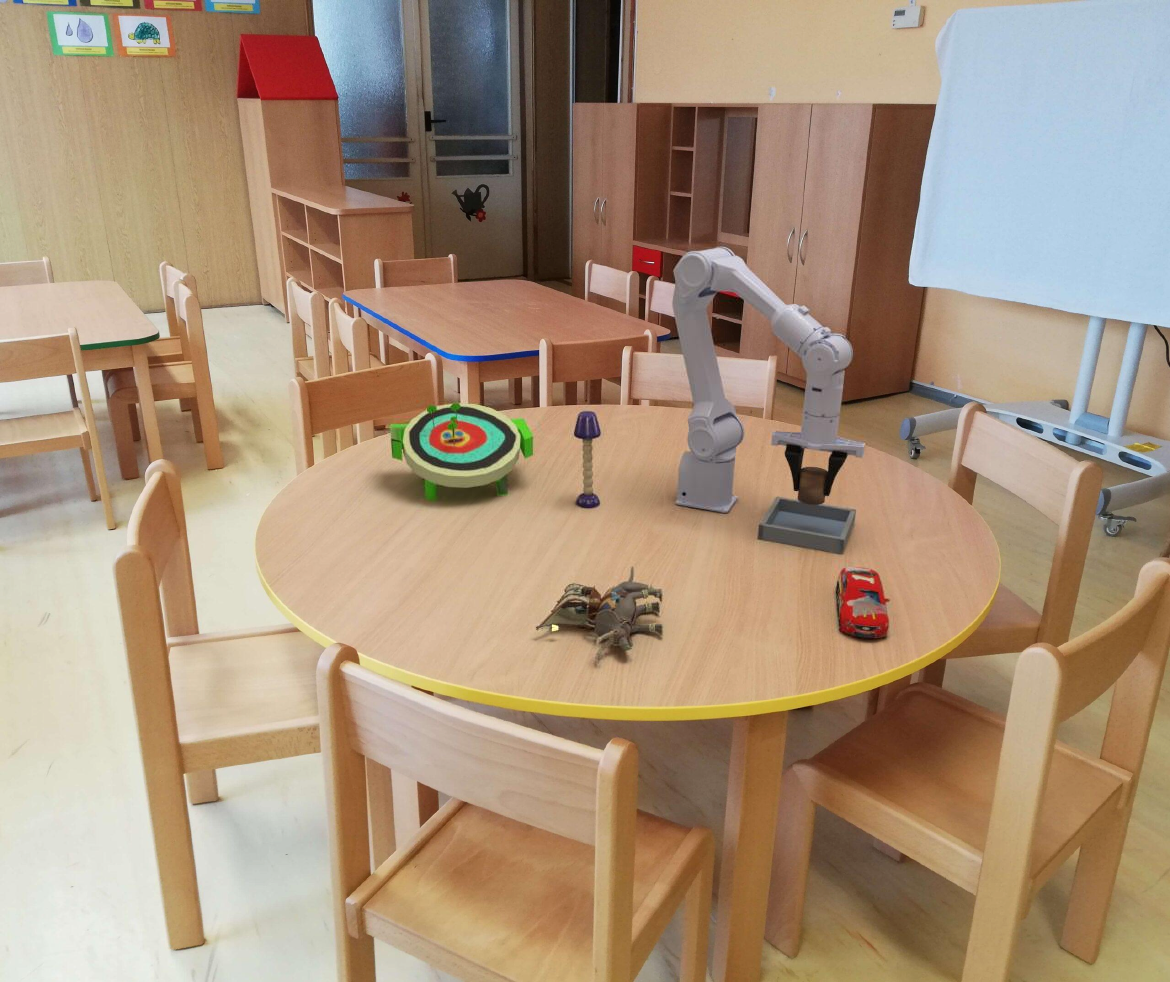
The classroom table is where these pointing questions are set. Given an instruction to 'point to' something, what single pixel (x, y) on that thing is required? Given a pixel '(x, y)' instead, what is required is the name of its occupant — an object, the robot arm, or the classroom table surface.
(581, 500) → the toy lamp
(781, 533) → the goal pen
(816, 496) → the walnut post
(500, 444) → the dartboard
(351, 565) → the classroom table surface
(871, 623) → the race car
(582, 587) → the figurine
